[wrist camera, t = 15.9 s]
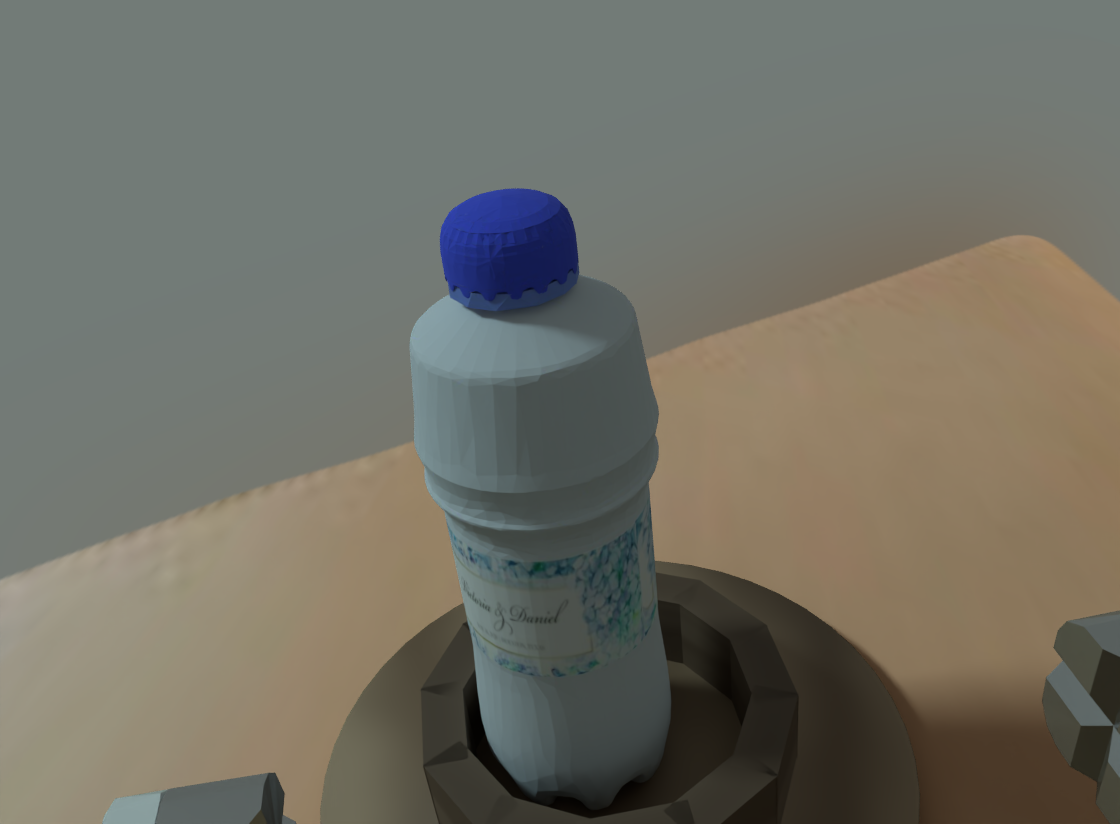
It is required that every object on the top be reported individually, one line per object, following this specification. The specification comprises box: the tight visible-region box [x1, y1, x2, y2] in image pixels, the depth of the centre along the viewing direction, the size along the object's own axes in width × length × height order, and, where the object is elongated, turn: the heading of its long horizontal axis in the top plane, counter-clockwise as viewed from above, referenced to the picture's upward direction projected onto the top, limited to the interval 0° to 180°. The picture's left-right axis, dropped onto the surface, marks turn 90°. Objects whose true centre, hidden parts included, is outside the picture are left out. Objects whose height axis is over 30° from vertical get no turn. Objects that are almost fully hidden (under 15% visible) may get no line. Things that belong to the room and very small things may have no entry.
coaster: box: [320, 561, 920, 824], centre depth 34 cm, size 20×20×4 cm
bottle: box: [410, 189, 671, 810], centre depth 30 cm, size 7×7×20 cm
